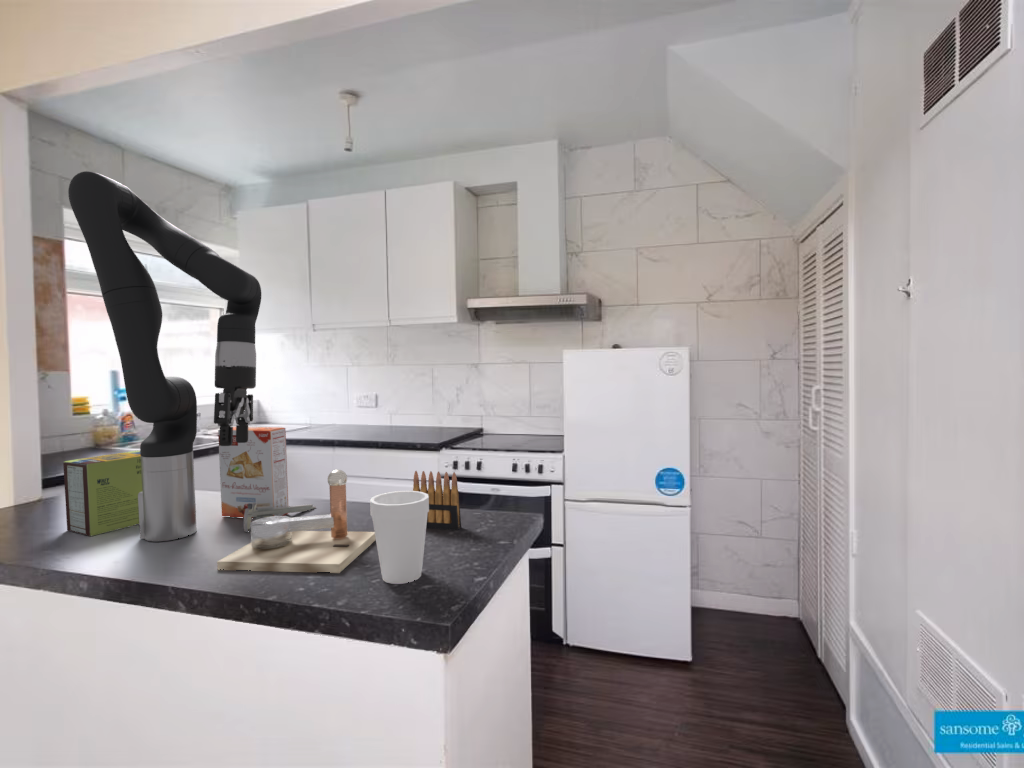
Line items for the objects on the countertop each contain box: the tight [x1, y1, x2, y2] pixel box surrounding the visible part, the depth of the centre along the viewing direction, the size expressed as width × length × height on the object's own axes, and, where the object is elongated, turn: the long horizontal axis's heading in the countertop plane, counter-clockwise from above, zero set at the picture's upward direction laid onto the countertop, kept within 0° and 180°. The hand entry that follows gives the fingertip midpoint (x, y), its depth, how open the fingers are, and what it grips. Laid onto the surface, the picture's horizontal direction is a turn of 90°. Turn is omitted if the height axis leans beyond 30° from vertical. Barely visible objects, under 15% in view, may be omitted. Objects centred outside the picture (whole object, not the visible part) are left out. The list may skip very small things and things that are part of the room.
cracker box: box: [217, 426, 289, 518], centre depth 124 cm, size 14×6×21 cm, turn 77°
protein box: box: [62, 450, 142, 537], centre depth 120 cm, size 10×15×16 cm
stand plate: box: [216, 530, 376, 574], centre depth 98 cm, size 22×17×2 cm
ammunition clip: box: [412, 470, 462, 531], centre depth 113 cm, size 11×2×12 cm, turn 74°
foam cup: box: [369, 490, 429, 585], centre depth 87 cm, size 10×9×13 cm
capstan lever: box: [250, 469, 348, 549], centre depth 100 cm, size 17×7×13 cm, turn 106°
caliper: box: [243, 503, 317, 533], centre depth 121 cm, size 20×1×6 cm, turn 158°
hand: (234, 444), depth 108 cm, fingers open, 8 cm apart
